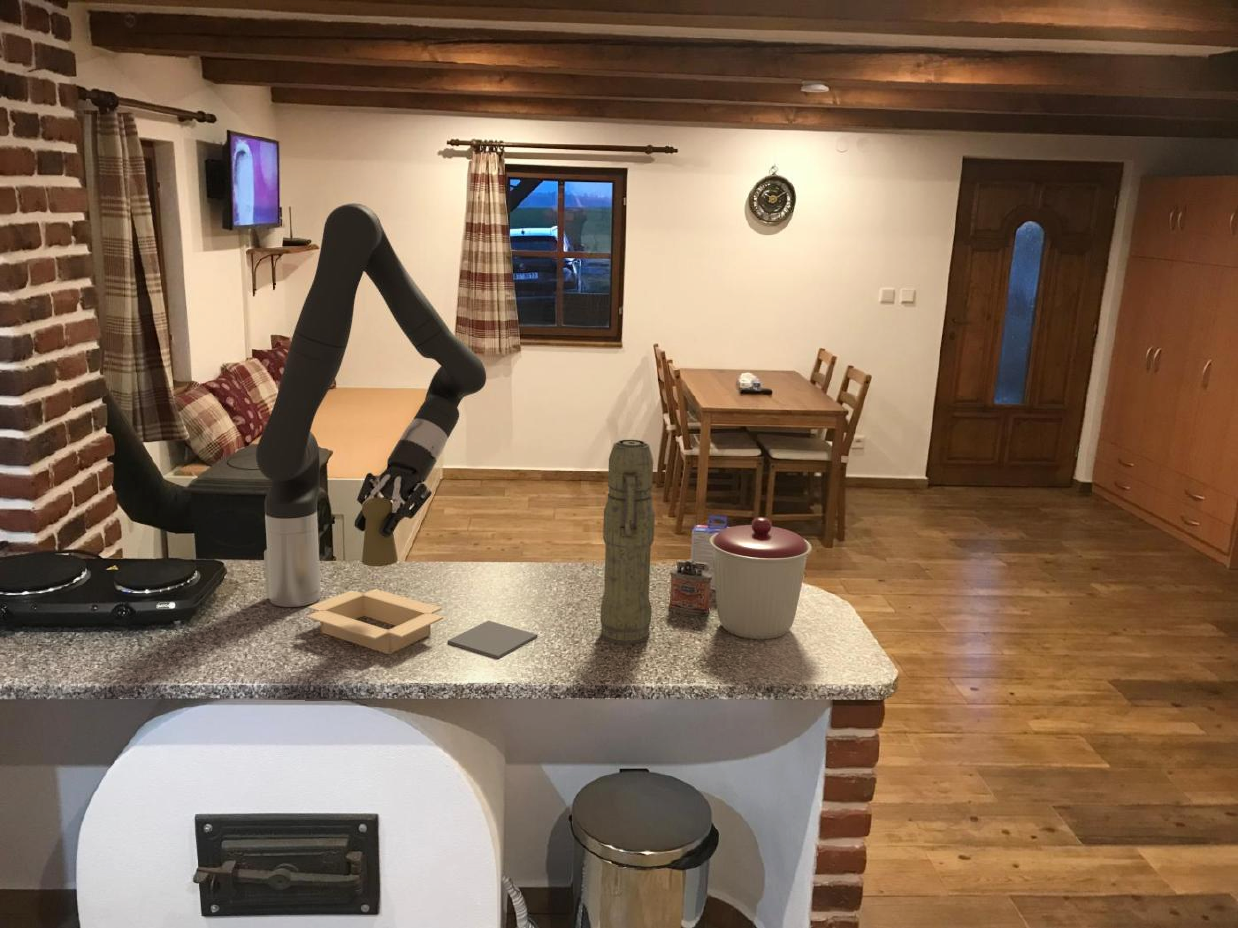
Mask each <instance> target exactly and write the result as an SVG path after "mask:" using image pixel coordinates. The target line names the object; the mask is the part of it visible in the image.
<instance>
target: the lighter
mask: <svg viewBox="0 0 1238 928" xmlns="http://www.w3.org/2000/svg"><path fill="white" fill-rule="evenodd" d="M696 569H697V570H698V571H696ZM708 569H709V564H708V563H703V562H694V560H692V559H691V558H688V559H687V560H684V559H678V560H676V568H672V569H671V570H670V571H669V572H670V573H669V575H670V591H669V594H670V595H669V603H668V609H669V610H670V611H673V612H678V613H681V614H687V615H695V616H708V615H710V612H711V608H710V600H711V599H710V598H711V597H710V596H711V589H710V582H711V580H712V575H710V574H707V573H703V572H702V570H703V571H708Z"/></svg>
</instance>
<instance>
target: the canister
mask: <svg viewBox="0 0 1238 928" xmlns="http://www.w3.org/2000/svg"><path fill="white" fill-rule="evenodd" d="M710 545H711V546H712V548H713V557H714V574H715V590H714V591H715V601H716V612H717V616H718V620H719V623H720V625H721V626H722V627H723V629H725V631H728V632H729V633H731V634H732V635H735V636H738V637H740V638H745V639H751V640H752V639H753V640H771V639H775V638H779V637H781V636H784V635H785V634H786V633H787V632H789V631H790V629H791V628H792V626H793V623H794V621H795V618H796V614H797V609H798V605H799V600H800V594H801V591H802V590H801V589H802V584H803V580H804V575H805V574H804V573H805V570H806V564H807V563H806V562H807V558H808V556H809V555H810V554H811V552H812V549H813V546H812V544H811V543H810V542H809V541H807V540H806V539H805V538H804V537H803V536H801V535H799V534H798V533H795V532H794V531H791V530H789V529H785V528H781V527H777V526H772V522H771V520H770V519H768V518H767V517H762V516H760V517H756V518H753V520H752V521H751V524H744V525H736V526H735V525H734V526H730V528H726V529H724V530H722V531H720V532H718V533H716V534H714V535H713V536H712V537H711V538H710Z"/></svg>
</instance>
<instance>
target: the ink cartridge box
mask: <svg viewBox="0 0 1238 928" xmlns="http://www.w3.org/2000/svg"><path fill="white" fill-rule="evenodd" d="M714 520H720V521H723V523H720V522H712V521H714ZM727 520H728V516H723V515H713V514H711V515H709V519H708V525H702V524H695V525H694V527H693V529H692V531H691V541H690V542H691V543H690V559H692V560H694V562H703V563H708V564H709V569H708V571H703V570H702V572H703V573H707V574H710V575H712V580H711V582H710V590H712V591H715V574H714V557H713V548H712V546H711V545H710V538H711V537H712V536H713V535H714V534H716V533H718V532H720V531H722V530H724V529H726V528H730V527H731V526H730V527H729V526H727V525H728V521H727ZM696 571H698V570H697V569H696Z"/></svg>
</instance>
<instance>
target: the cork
mask: <svg viewBox="0 0 1238 928" xmlns="http://www.w3.org/2000/svg"><path fill="white" fill-rule="evenodd" d="M392 504H393V501H392V500H389V499H387V498H382V497H381V498H371V499H368V500H366V501H365V502H364V504H363V506H362V505H361V506H362V508H361V510H362V513H363V515H364V517H365V518H366V523H365V531H364V533H363V535H364V537H363V546H362V555H361V556H362V557H361V563H362V564H363V565H365V566H369V567H386V566H391V565H394V564H395V563H397V562H398V559H399V558H398V552H397V546H396V541H395V535H394V532H393V533H392V534H391V535H390V536H389V537H388V538H387V537H384V536H383V535H381V534H380V533H379V529H380V527H381V525H382V524H383V522H384V520H385V519H386V517H387V515H388V514H389V513H392V512H391V509H392Z"/></svg>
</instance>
